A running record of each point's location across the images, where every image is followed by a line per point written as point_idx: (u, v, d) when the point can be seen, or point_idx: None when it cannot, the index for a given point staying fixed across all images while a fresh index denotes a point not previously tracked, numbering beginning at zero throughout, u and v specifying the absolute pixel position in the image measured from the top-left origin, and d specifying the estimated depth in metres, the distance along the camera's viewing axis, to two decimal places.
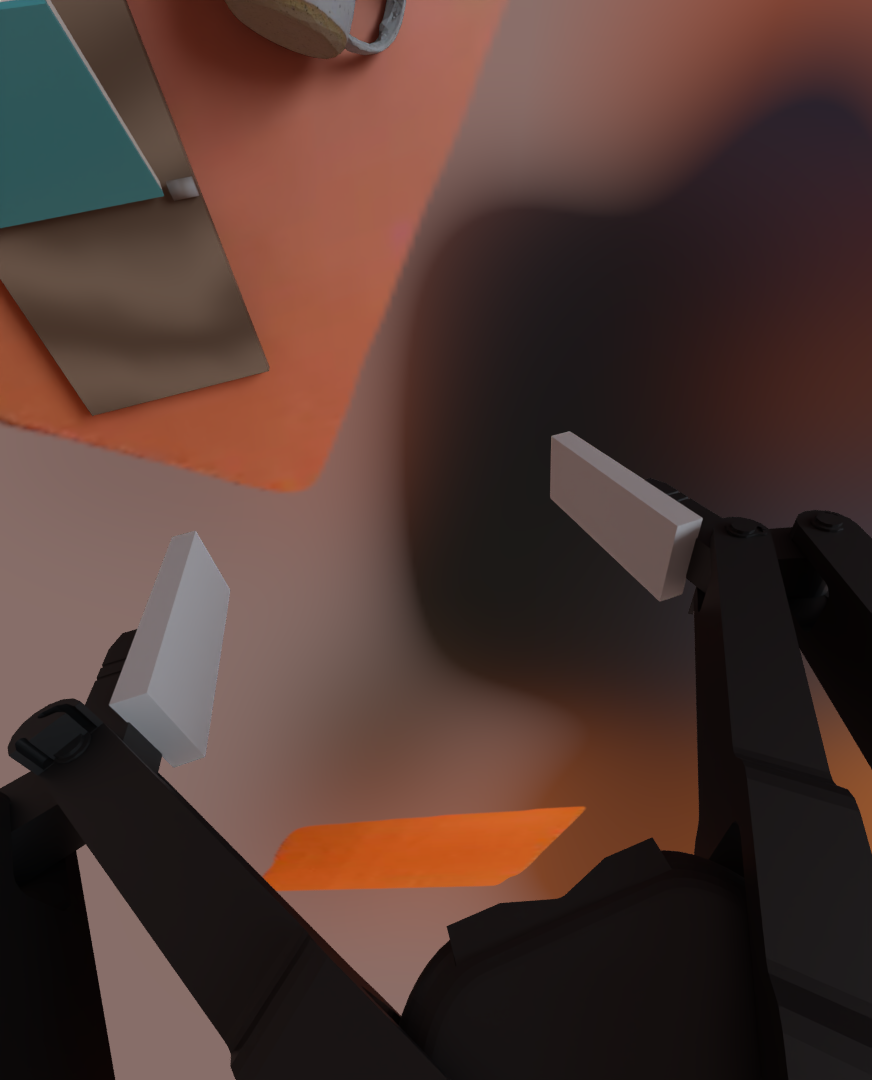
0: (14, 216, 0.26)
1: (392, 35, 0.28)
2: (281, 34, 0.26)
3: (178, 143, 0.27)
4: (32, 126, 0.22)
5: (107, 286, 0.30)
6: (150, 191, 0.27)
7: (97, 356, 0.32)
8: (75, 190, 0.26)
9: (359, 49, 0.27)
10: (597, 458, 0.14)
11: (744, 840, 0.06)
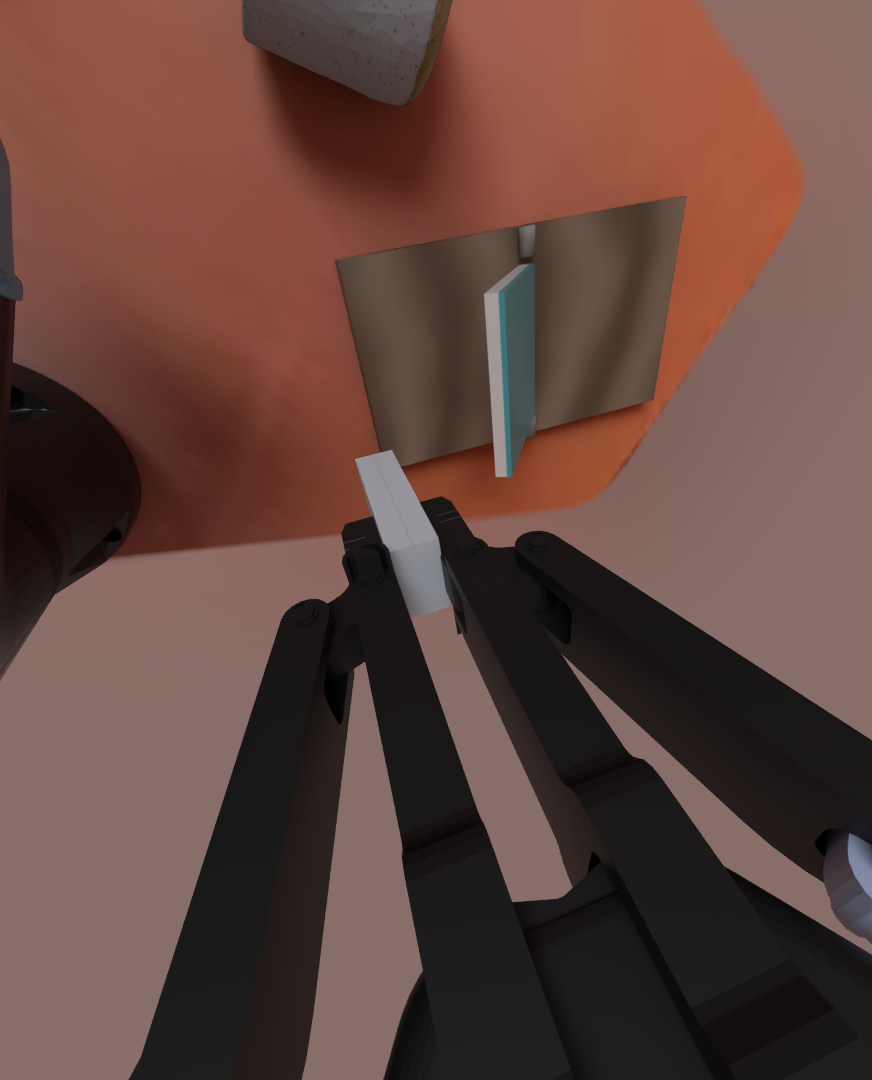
0: (533, 398, 0.32)
1: None
2: None
3: (491, 233, 0.27)
4: (522, 351, 0.26)
5: (575, 348, 0.33)
6: (533, 275, 0.28)
7: (617, 378, 0.35)
8: (531, 342, 0.29)
9: None
10: (395, 477, 0.15)
11: (611, 874, 0.06)
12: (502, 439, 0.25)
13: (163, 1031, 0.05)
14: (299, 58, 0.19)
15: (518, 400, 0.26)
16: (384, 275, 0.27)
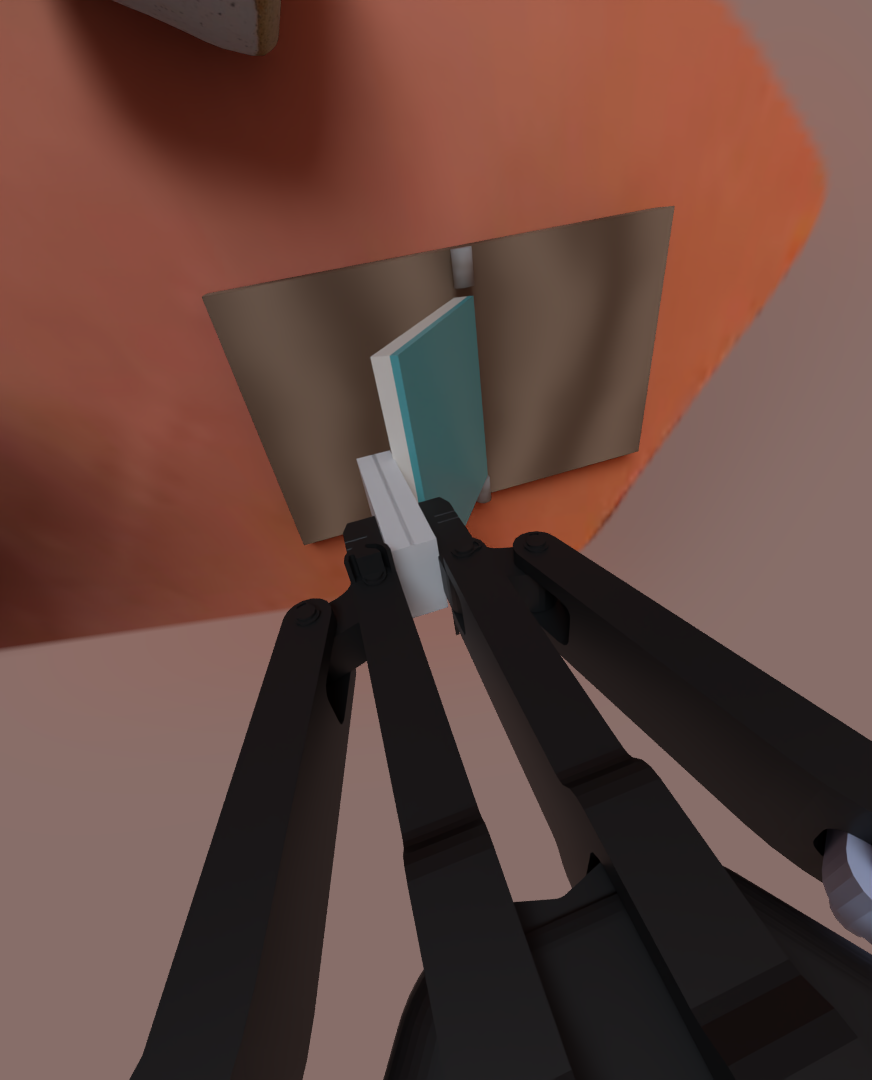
0: (484, 458, 0.26)
1: None
2: None
3: (414, 257, 0.21)
4: (452, 415, 0.20)
5: (537, 395, 0.26)
6: (471, 311, 0.21)
7: (592, 428, 0.29)
8: (473, 396, 0.23)
9: None
10: (393, 478, 0.15)
11: (610, 874, 0.06)
12: None
13: (165, 1029, 0.05)
14: None
15: (448, 480, 0.20)
16: (271, 314, 0.20)
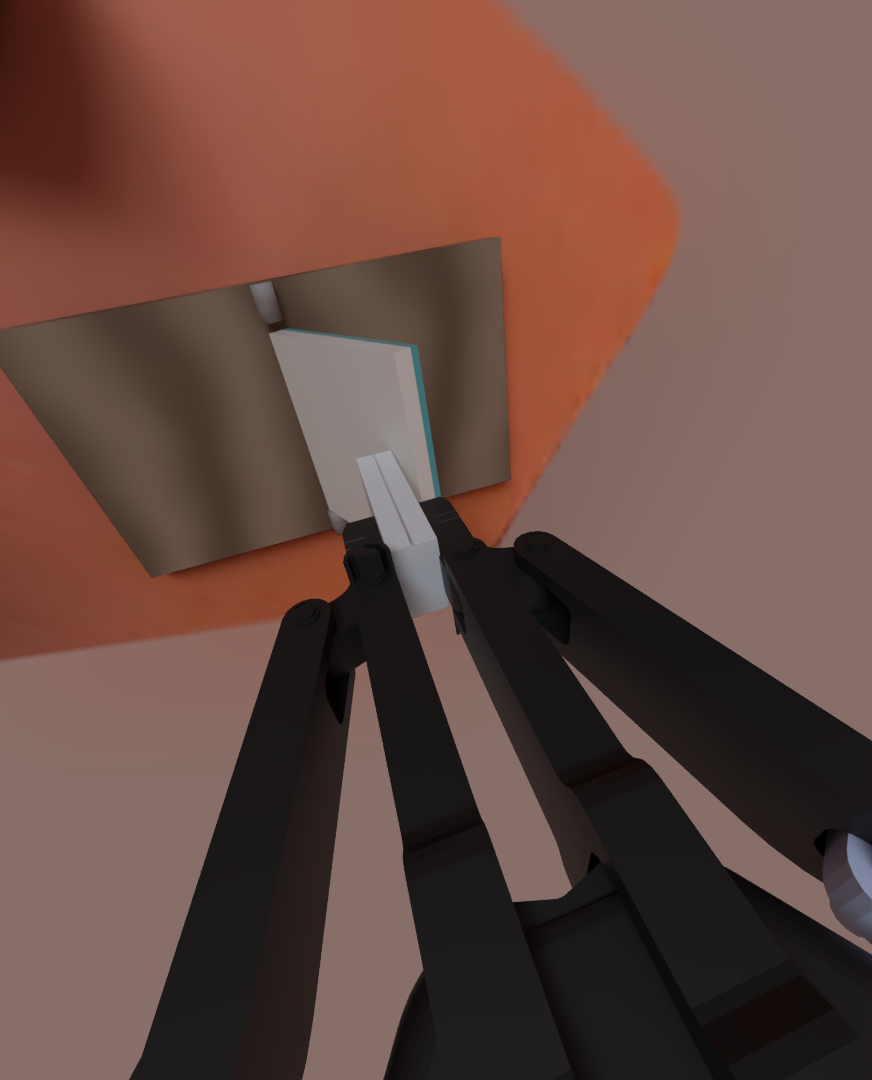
0: None
1: None
2: None
3: (213, 292, 0.20)
4: None
5: None
6: None
7: (454, 458, 0.28)
8: None
9: None
10: (394, 478, 0.15)
11: (610, 874, 0.06)
12: None
13: (164, 1030, 0.05)
14: None
15: None
16: (61, 351, 0.20)
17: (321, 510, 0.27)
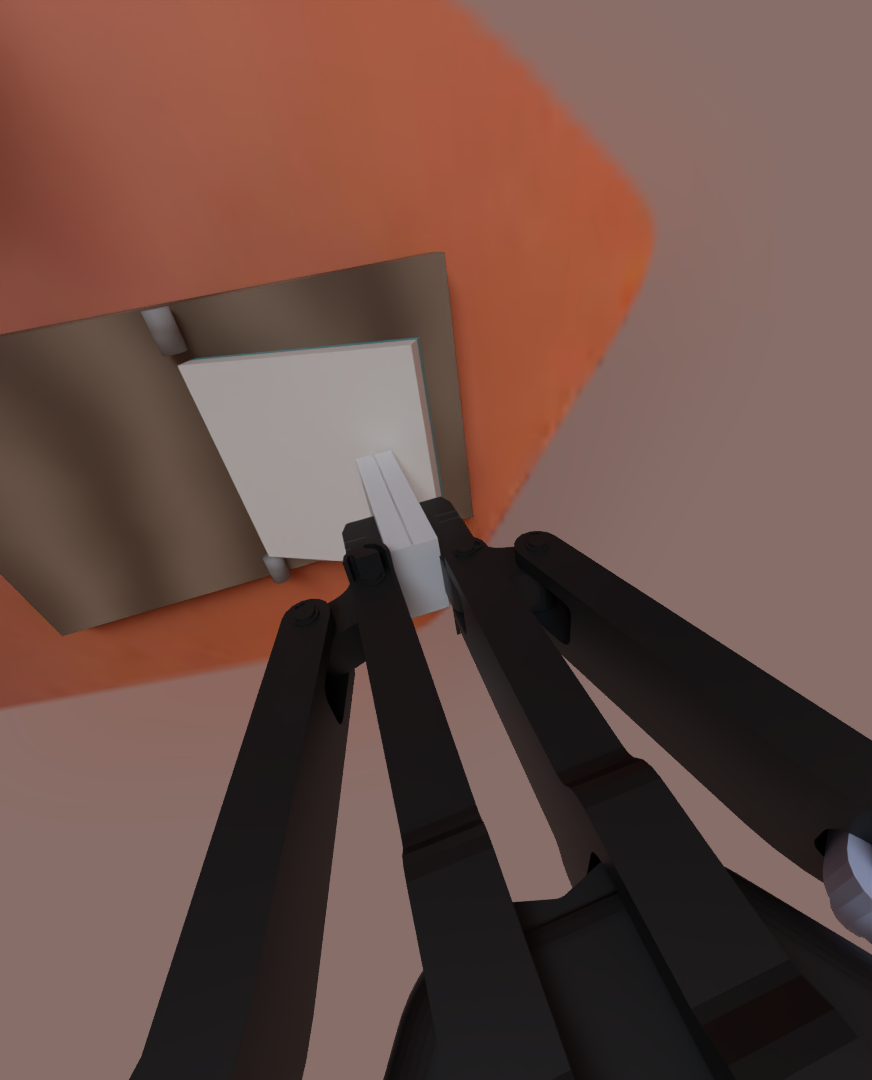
0: None
1: None
2: None
3: (99, 320, 0.17)
4: None
5: None
6: None
7: None
8: None
9: None
10: (394, 478, 0.15)
11: (610, 874, 0.06)
12: None
13: (164, 1030, 0.05)
14: None
15: None
16: None
17: (257, 556, 0.24)
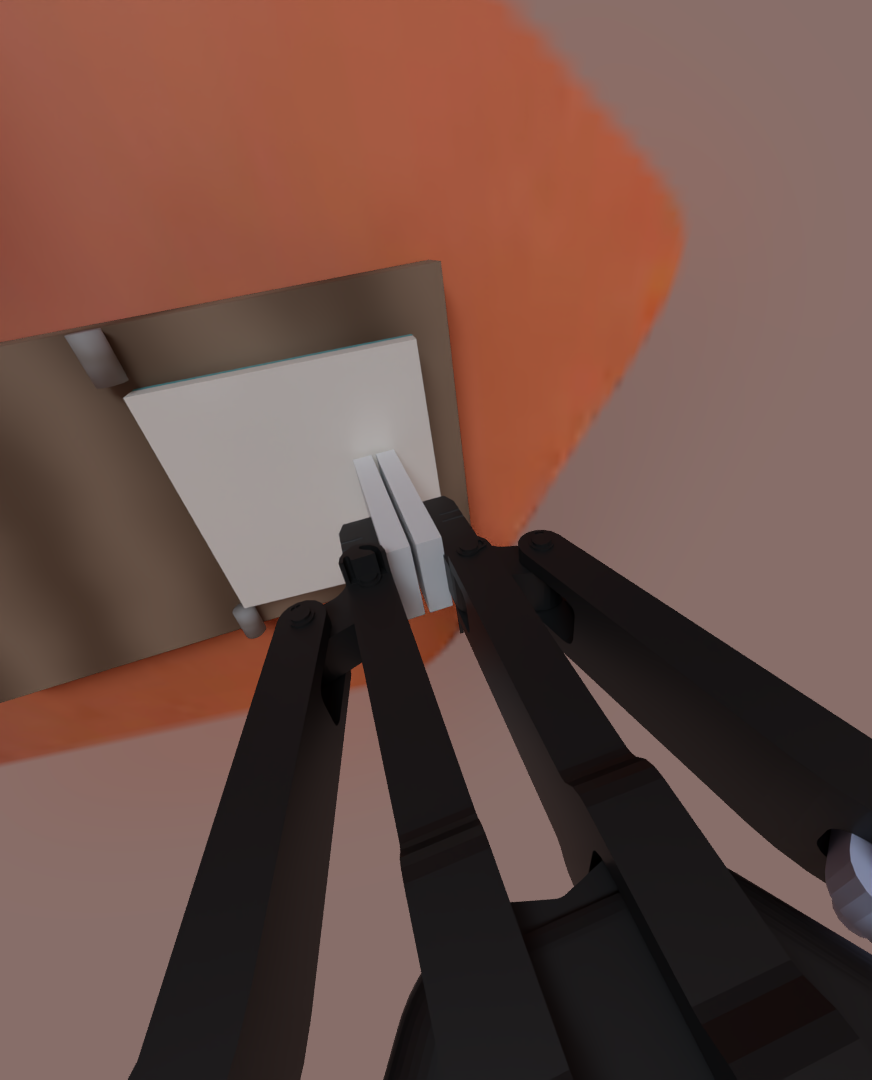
0: None
1: None
2: None
3: (15, 345, 0.14)
4: None
5: None
6: None
7: None
8: None
9: None
10: (397, 477, 0.15)
11: (613, 873, 0.06)
12: None
13: (160, 1034, 0.05)
14: None
15: None
16: None
17: (226, 608, 0.21)
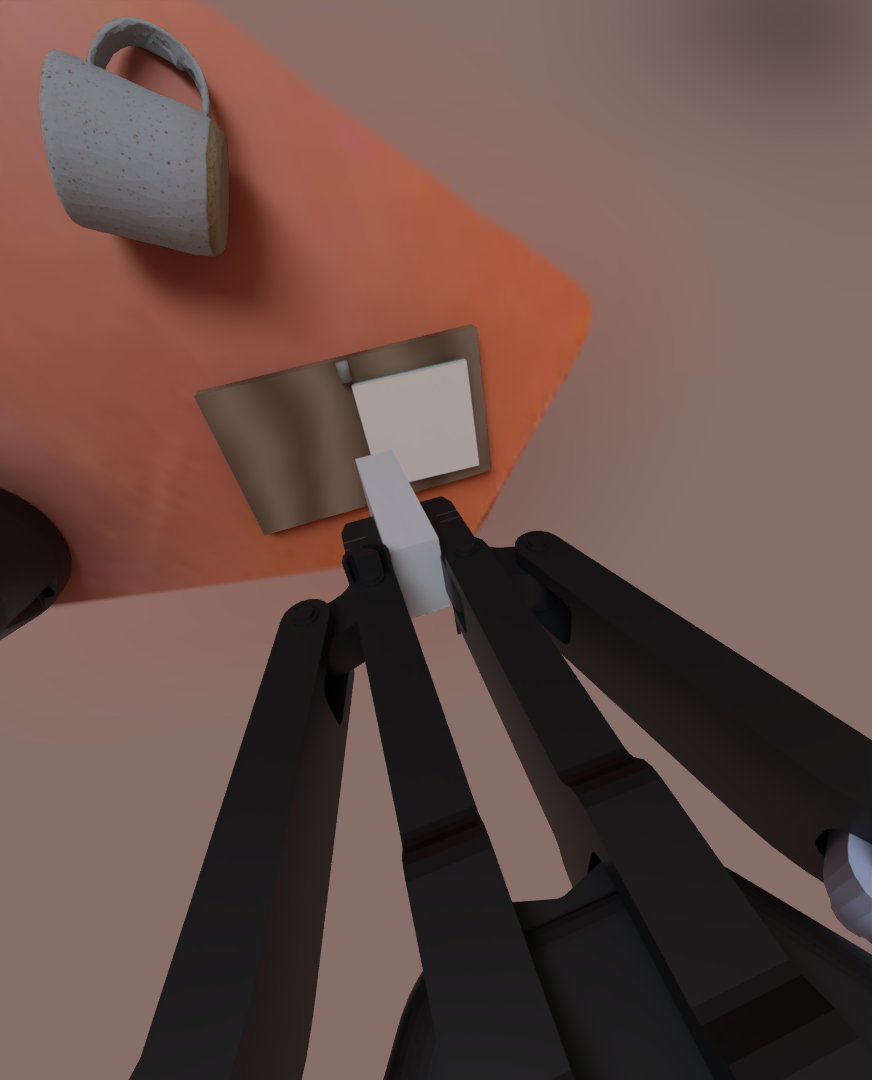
0: None
1: (182, 49, 0.25)
2: (224, 201, 0.28)
3: (314, 367, 0.36)
4: None
5: None
6: None
7: None
8: None
9: (209, 103, 0.26)
10: (395, 477, 0.15)
11: (611, 874, 0.06)
12: None
13: (163, 1031, 0.05)
14: (124, 236, 0.27)
15: None
16: (233, 402, 0.36)
17: None
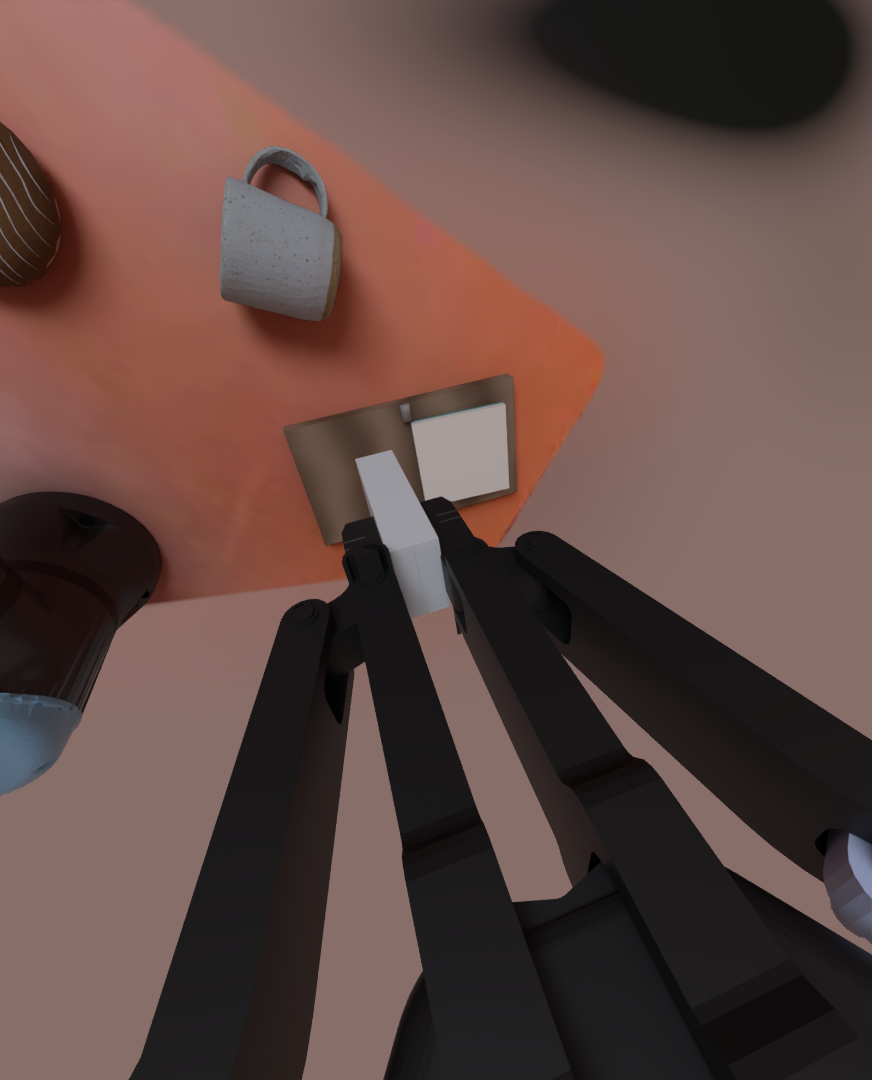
0: None
1: (311, 168, 0.32)
2: None
3: (382, 408, 0.43)
4: None
5: None
6: None
7: None
8: None
9: (327, 207, 0.33)
10: (395, 477, 0.15)
11: (611, 874, 0.06)
12: None
13: (163, 1031, 0.05)
14: None
15: None
16: (314, 436, 0.43)
17: None
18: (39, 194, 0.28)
